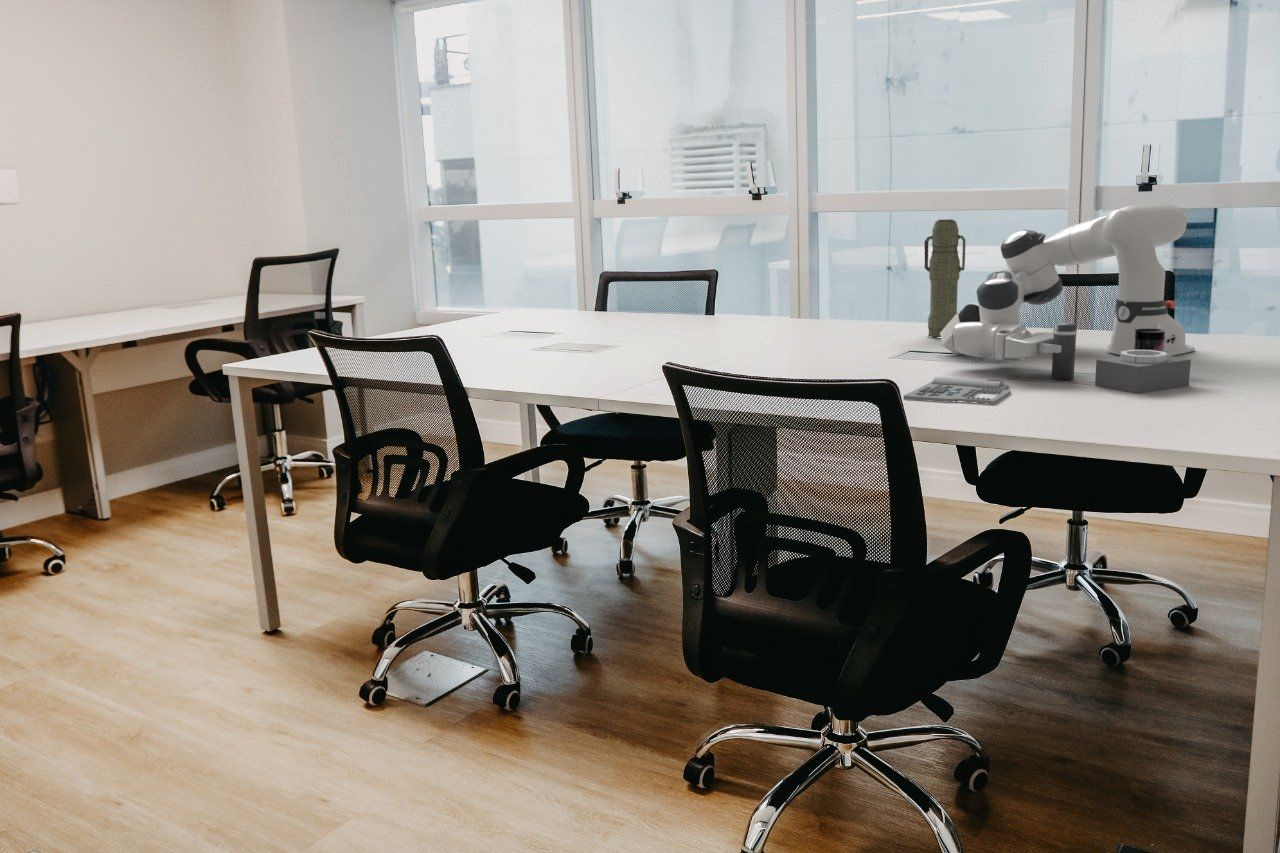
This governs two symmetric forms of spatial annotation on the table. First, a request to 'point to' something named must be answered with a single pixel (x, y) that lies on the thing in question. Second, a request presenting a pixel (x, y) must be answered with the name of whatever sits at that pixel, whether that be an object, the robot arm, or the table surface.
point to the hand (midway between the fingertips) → (1068, 347)
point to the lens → (1064, 351)
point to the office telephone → (959, 390)
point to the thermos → (943, 274)
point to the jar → (965, 315)
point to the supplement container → (1149, 339)
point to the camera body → (1142, 371)
